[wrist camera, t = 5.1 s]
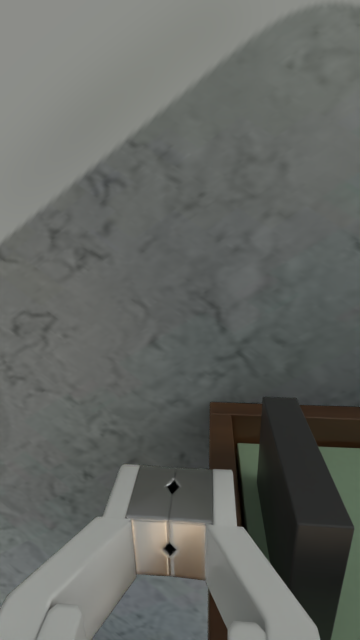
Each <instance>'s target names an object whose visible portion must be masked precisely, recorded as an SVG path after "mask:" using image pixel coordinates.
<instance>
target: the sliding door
mask: <svg viewBox="0 0 360 640" xmlns="http://www.w3.org/2000/svg"><path fill="white" fill-rule="evenodd" d="M237 460H238V470H239V479H240V489H241V498H242V508H243V517H244V527H245V530H246V531H247V533H248V534H249V536H250V537H251V538H252V540H253V541H254V542H255V544H256V545H257V546H258V548H259V549H260V550H261V552H262V553H263V554H264V556H265V557H266V559H267V560H268V561H269V563H270V564H271V565H272V567H273V568H274V569H275V571H276V572H277V573H278V575H279V576H280V578H281V579H282V580H283V582H284V583H285V584H286V586H287V587H288V588H289V590H290V591H291V592H292V594H293V595H294V596H295V598H296V599H297V601H298V602H299V603H300V605H301V606H302V607H303V609H304V610H305V611H306V613H307V614H308V615H309V617H310V618H311V619H312V621H313V622H314V624H315V625H316V626H317V628H318V632H319V636H320V640H360V448H340V447H318V445H317V443H316V441H315V438H314V436H313V434H312V432H311V430H310V427H309V425H308V423H307V421H306V418H305V416H304V414H303V412H302V410H301V407H300V405H299V403H298V401H297V398H281V397H263V401H262V415H261V429H260V443H259V444H249V443H237Z"/></svg>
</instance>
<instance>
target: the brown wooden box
mask: <svg viewBox="0 0 360 640" xmlns="http://www.w3.org/2000/svg"><path fill="white" fill-rule="evenodd" d="M300 407H301V410H302V412H303V414H304V416H305V418H306V421H307V423H308V425H309V427H310V430H311V432H312V434H313V436H314V438H315V441H316V443H317V445H318V447H340V448H360V407H345V406H314V405H300ZM261 415H262V404H253V403H222V402H210V426H209V469H212V470H213V469H225V470H232V472H233V481H234V494H235V506H236V519H237V526H238V527H244V517H243V508H242V498H241V489H240V479H239V470H238V460H237V443H249V444H259V443H260V429H261ZM244 529H245V527H244ZM227 634H228V629H227V627H226V625H225V623H224V621H223V619H222V616H221V614H220V612H219V610H218V608H217V606H216V603H215V601H214V599H213V597H212V595H211V592H210V590H209V588H208V640H227Z"/></svg>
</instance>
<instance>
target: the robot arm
mask: <svg viewBox="0 0 360 640" xmlns="http://www.w3.org/2000/svg"><path fill="white" fill-rule="evenodd" d="M136 574H138V575H157V576H173V577H181V578H189V579H198V580H206V584H207V586H208V588H209V590H210V592H211V595H212V597H213V599H214V601H215V603H216V606H217V608H218V610H219V612H220V614H221V616H222V619H223V621H224V623H225V625H226V627H227V629H228V634H227V640H320V636H319V632H318V628H317V626H316V625H315V624H314V622H313V621H312V619H311V618H310V617H309V615H308V614H307V613H306V611H305V610H304V609H303V607H302V606H301V605H300V603H299V602H298V601H297V599H296V598H295V596H294V595H293V594H292V592H291V591H290V590H289V588H288V587H287V586H286V584H285V583H284V582H283V580H282V579H281V578H280V576H279V575H278V573H277V572H276V571H275V569H274V568H273V567H272V565H271V564H270V563H269V561H268V560H267V559H266V557H265V556H264V554H263V553H262V552H261V550H260V549H259V548H258V546H257V545H256V544H255V542H254V541H253V540H252V538H251V537H250V536H249V534H248V533H247V531H246V530H245V529H244V527H238V526H237V519H236V506H235V494H234V481H233V472H232V470H225V469H213V470H212V469H199V468H173V467H161V466H149V465H131V464H123V465H122V466H121V467H120V469H119V472H118V474H117V477H116V480H115V483H114V486H113V488H112V491H111V494H110V497H109V500H108V502H107V505H106V508H105V511H104V514H103V516H102V517H96V518H94V519H93V520H92V521H91V522H90V523H89V524H88V525H87V526H85V527H84V528H83V529H82V530H81V531H80V532H79V533H77V534H76V535H75V536H74V537H73V538H72V539H71V540H70V541H68V542H67V543H66V544H65V545H64V546H63V547H62V548H60V549H59V550H58V551H57V552H56V553H55V554H54V555H53V556H51V557H50V558H49V559H48V560H47V561H46V562H45V563H43V564H42V565H41V566H40V567H39V568H38V569H37V570H35V571H34V572H33V573H32V574H31V575H30V576H29V577H28V578H26V579H25V580H24V581H23V582H22V583H21V584H20V585H18V586H17V587H16V588H15V589H14V590H13V591H12V592H11V593H9V594H8V595H7V597H6V599H5V600H4V602H3V604H2V606H1V608H0V640H91V639H92V638H93V637H94V635H95V634H96V632H97V631H98V630H99V628H100V627H101V626H102V624H103V623H104V621H105V620H106V619H107V617H108V616H109V614H110V613H111V612H112V610H113V609H114V607H115V606H116V605H117V603H118V602H119V601H120V599H121V598H122V596H123V595H124V594H125V592H126V591H127V589H128V588H129V587H130V585H131V584H132V582H133V581H134V580H135V578H136Z"/></svg>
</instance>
